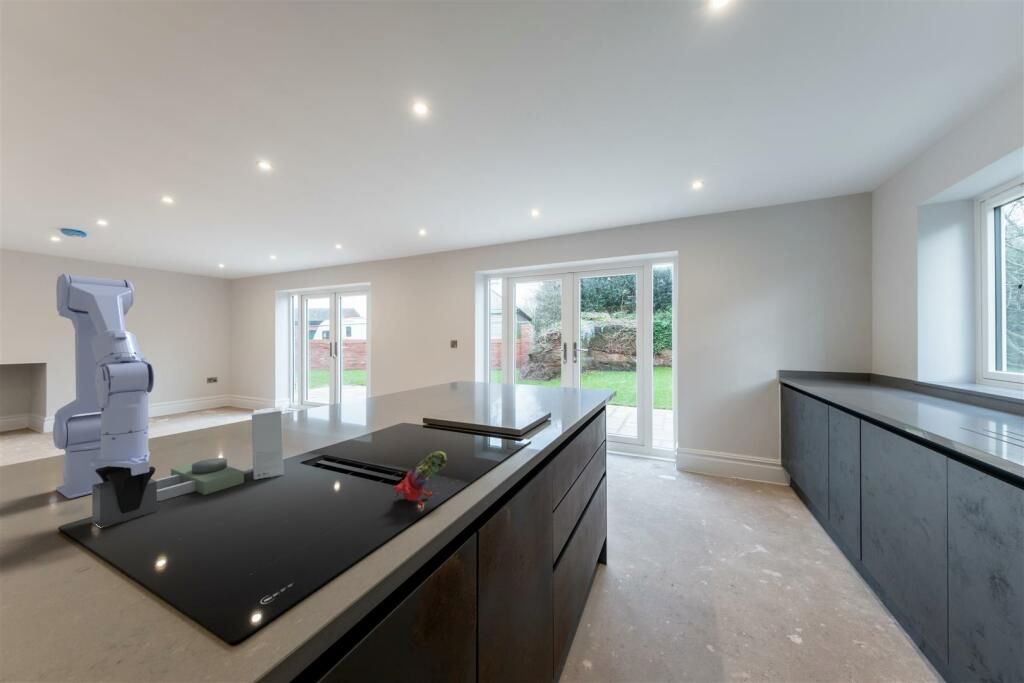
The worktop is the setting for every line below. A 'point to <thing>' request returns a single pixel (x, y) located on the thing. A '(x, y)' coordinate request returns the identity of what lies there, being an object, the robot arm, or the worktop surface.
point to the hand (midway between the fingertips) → (125, 507)
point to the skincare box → (267, 442)
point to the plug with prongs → (199, 478)
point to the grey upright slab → (108, 507)
